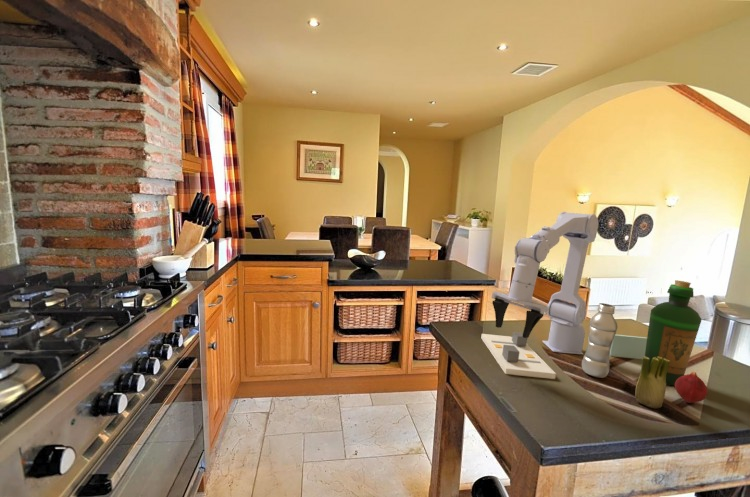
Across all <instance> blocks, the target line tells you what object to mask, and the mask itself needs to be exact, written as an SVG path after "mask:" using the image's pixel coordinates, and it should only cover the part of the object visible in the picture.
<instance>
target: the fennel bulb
mask: <svg viewBox="0 0 750 497" xmlns="http://www.w3.org/2000/svg"><path fill="white" fill-rule="evenodd" d="M649 361H650V359H649V358H648V357H643V359H642V362H641V369H640V373H639V377H638V379H637V383H636V386H635V394H634V396H635V400H636V402H637V403H639V404H641V405H643V406H646V407H648V408H650V409H657V410H658V409H660V408H662V407H663V403H664V399H665V396H666V390H667V384H666V374H667V370H668V367H669V364H670V360H667V359H663V358H661V357H658V356H657V358H655V357H654V358H652V361H651V364H650V367H649Z"/></svg>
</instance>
